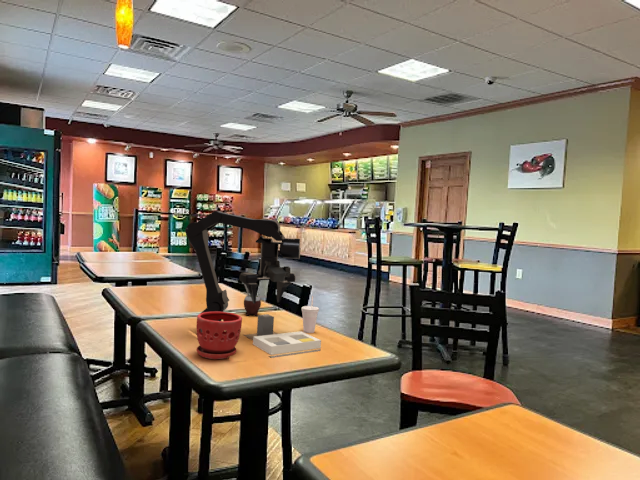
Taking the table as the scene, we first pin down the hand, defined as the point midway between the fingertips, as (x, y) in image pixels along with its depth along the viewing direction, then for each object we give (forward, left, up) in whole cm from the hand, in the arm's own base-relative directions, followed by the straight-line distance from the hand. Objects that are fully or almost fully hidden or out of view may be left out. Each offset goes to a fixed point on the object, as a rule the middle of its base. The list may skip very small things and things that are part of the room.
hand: (266, 302), depth 160 cm
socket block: (+1, -13, -13) cm, 18 cm away
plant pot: (-21, -10, -13) cm, 26 cm away
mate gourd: (+12, +35, -13) cm, 39 cm away
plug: (0, 0, -12) cm, 12 cm away
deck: (0, 0, -13) cm, 13 cm away
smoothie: (+18, 0, -13) cm, 22 cm away
